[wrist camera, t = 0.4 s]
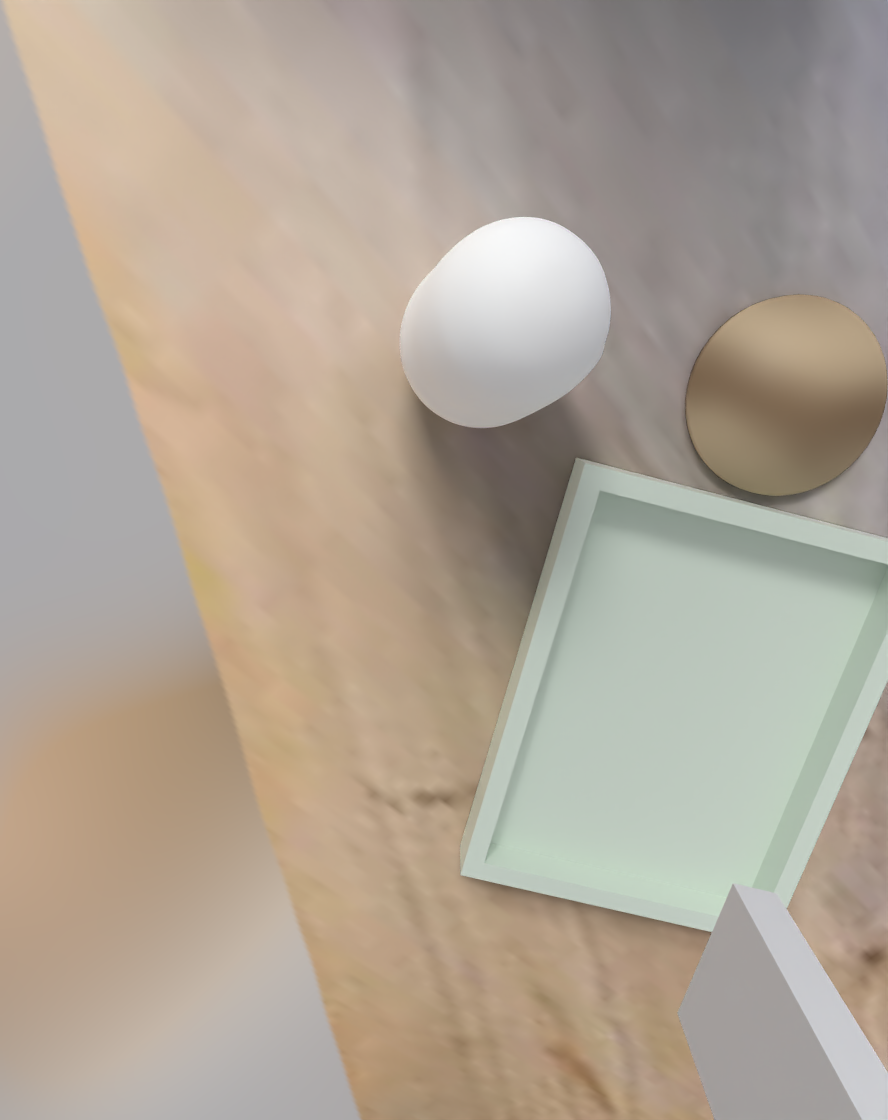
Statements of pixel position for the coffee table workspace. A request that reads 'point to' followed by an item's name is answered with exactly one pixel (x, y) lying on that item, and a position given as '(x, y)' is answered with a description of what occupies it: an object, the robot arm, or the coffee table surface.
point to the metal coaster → (786, 395)
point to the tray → (679, 700)
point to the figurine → (505, 323)
